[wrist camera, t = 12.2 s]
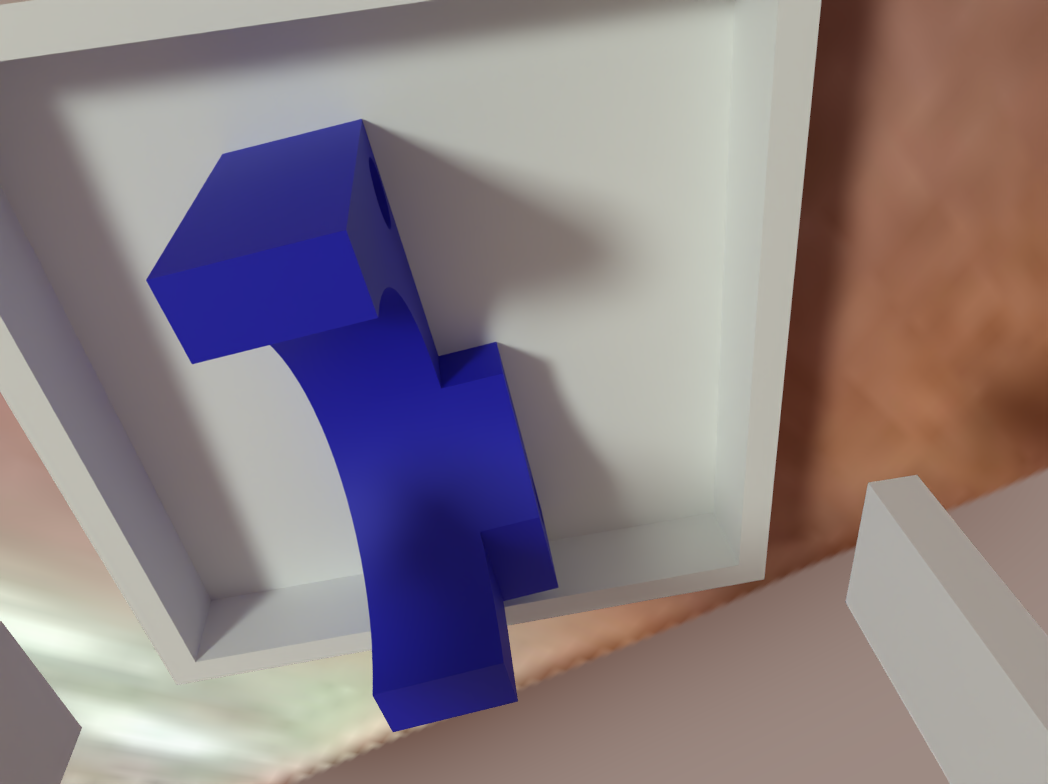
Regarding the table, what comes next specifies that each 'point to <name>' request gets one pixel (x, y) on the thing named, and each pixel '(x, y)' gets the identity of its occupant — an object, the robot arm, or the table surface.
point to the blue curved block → (373, 407)
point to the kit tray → (440, 276)
